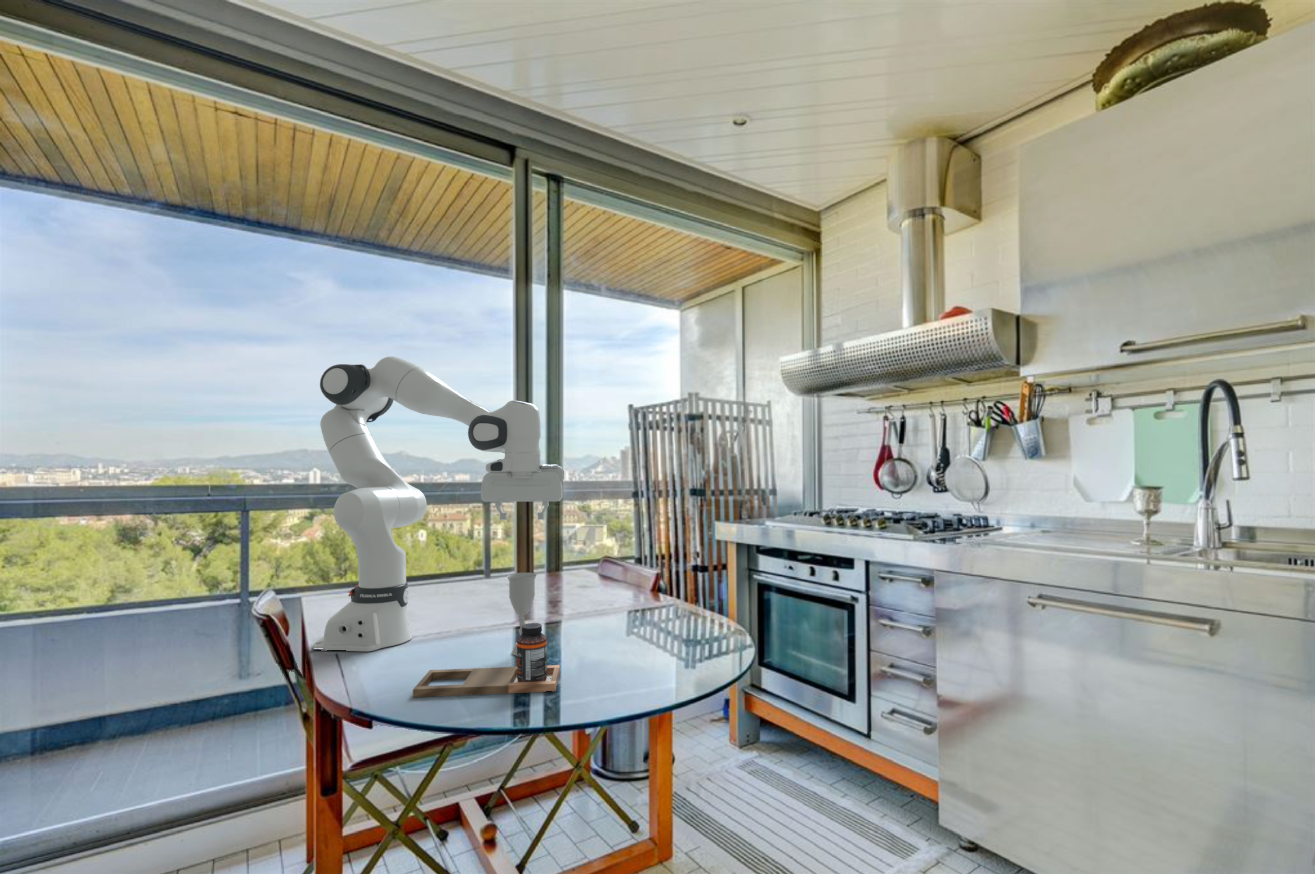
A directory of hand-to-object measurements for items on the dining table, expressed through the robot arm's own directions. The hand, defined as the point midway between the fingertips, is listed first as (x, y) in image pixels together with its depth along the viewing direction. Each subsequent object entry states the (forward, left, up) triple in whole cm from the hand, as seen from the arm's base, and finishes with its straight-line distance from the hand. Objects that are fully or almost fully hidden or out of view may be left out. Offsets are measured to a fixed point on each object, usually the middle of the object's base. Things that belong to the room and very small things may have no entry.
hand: (522, 519), depth 155 cm
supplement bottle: (+6, -30, -30) cm, 43 cm away
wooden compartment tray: (-2, -30, -30) cm, 42 cm away
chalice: (+1, -9, -31) cm, 32 cm away
